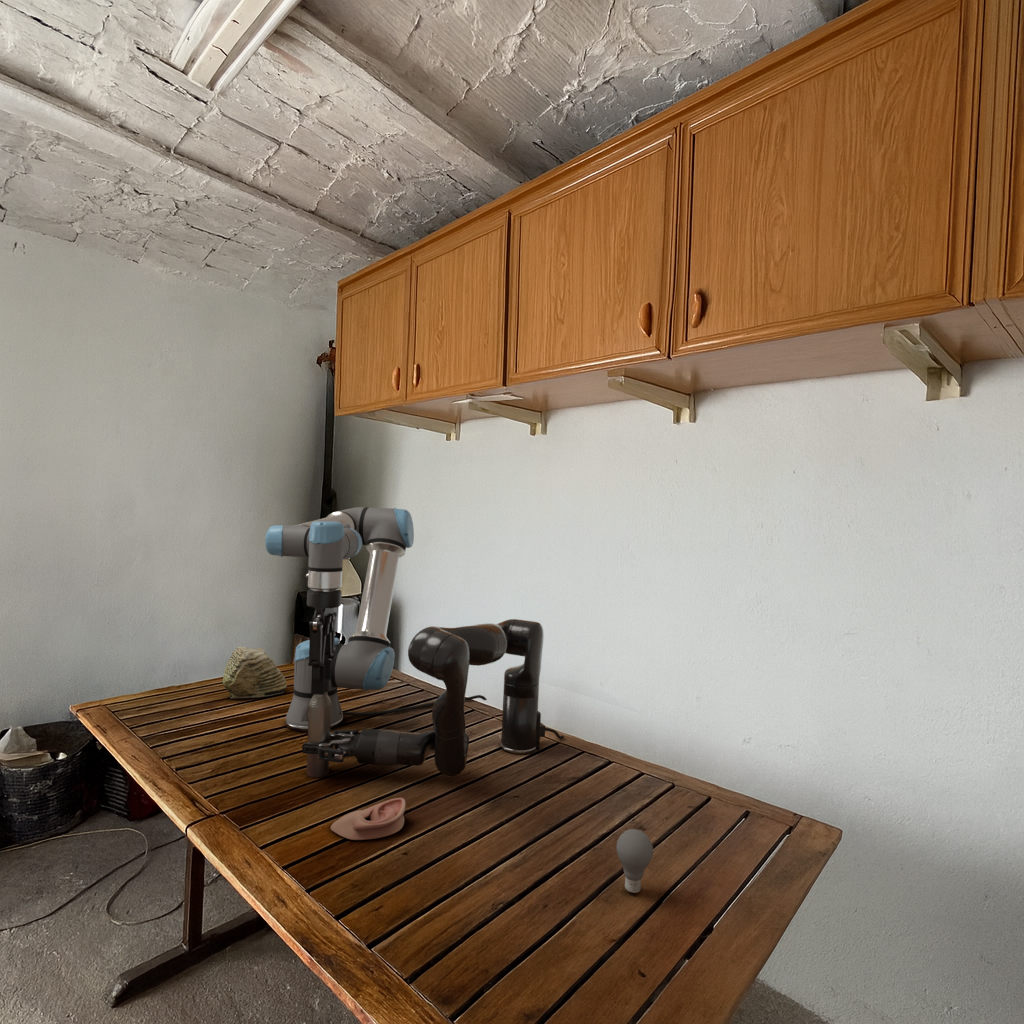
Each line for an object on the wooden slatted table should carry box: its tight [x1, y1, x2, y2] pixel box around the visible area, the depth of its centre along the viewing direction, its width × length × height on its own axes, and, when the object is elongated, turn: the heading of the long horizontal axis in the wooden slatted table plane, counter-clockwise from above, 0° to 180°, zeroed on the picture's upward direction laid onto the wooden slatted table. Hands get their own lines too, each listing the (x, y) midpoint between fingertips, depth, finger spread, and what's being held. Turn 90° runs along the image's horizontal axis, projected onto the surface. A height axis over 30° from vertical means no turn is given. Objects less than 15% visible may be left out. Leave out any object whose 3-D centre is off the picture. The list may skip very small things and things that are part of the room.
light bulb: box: [615, 828, 654, 894], centre depth 106 cm, size 6×6×10 cm
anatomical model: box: [330, 797, 407, 841], centre depth 123 cm, size 13×4×12 cm
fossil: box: [222, 646, 288, 699], centre depth 198 cm, size 9×18×15 cm, turn 132°
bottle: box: [306, 692, 331, 778], centre depth 145 cm, size 5×5×21 cm
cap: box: [324, 677, 331, 693], centre depth 145 cm, size 4×4×2 cm
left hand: (320, 690), depth 145 cm, fingers closed on cap, 4 cm apart
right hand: (307, 743), depth 145 cm, fingers closed on bottle, 5 cm apart
